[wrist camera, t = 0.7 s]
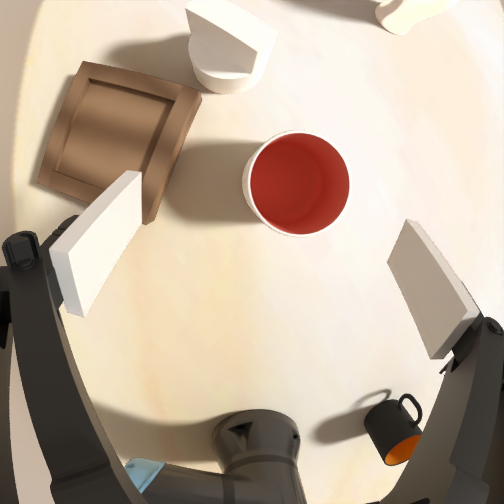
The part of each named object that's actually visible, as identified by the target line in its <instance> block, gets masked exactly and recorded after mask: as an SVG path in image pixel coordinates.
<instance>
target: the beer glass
mask: <svg viewBox="0 0 504 504" xmlns="http://www.w3.org/2000/svg"><path fill="white" fill-rule="evenodd" d="M458 1H460V0H386V1H385V2H383V3H381V4H379V5H378V6H377V7H376V9H375V15H376V18H377V20H378V22H379V23H380V24H381V25H382V26H383V27H384V28H385V29H386V30H388V31H389V32H391V33H393V34H396V35H403V34H406V33H407V32H408V31H409V30H410V28H411V27H412V26H413V25H414V24H415V23H417V22H419V21H422V20H425V19H428V18H431V17H434V16H436V15H438V14H441V13H443V12H444V11H446V10H448V9H449V8H451V7H452V6H453V5H455V4H456V3H457V2H458Z"/></svg>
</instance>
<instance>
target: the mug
mask: <svg viewBox="0 0 504 504" xmlns="http://www.w3.org/2000/svg"><path fill="white" fill-rule="evenodd" d="M405 398H408V399H410V401H411V402H412V403H413V404H414V406H415V407H416V408H417V411H418V419H417V420H416V421H414V420H413V418H412V417H411V416H410V414H409V413H408V412H407V410H406V409H405V407H404V406H403V405H402V402H403V400H404V399H405ZM421 419H422V409H421V406H420V405H419V403H418V402H417V401H416V399H415V398H414V397H413V396H412V395H411V394H404V395H402V396H401V398H400V399H399V401H398V400H387V401H384V402H382V403H380V404H378V405H377V406H375V407H374V408H373V409H372V410H371V411H370V412H369V413H368V414H367V416H366V418H365V420H364V426H365V428H366V430H367V432H368V434H369V435H370V437H371V439H372V441H373V443H374V445H375V447H376V448H377V450H378V452H379V454H380V456H381V458H382V460H383V461H384V463H385V464H386V465H388V466H395V465H398V464H401V463H404V462H406V461H407V460H409V459H410V457H411V455H412V453H413V451H414V449H415V447H416V445H417V443H418V441H419V439H420V437H421V435H422V431H421V429H420V428H419V427H418V424H419V423H420V421H421Z"/></svg>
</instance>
